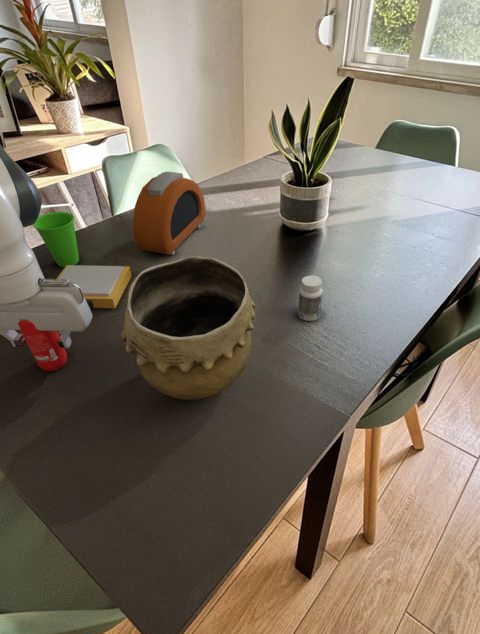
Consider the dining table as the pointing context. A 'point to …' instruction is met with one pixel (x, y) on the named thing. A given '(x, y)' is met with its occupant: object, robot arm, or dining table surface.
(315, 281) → the pill bottle
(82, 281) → the scale
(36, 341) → the beverage can
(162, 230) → the alarm clock
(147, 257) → the dining table surface
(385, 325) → the dining table surface
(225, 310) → the clay pot
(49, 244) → the cup
